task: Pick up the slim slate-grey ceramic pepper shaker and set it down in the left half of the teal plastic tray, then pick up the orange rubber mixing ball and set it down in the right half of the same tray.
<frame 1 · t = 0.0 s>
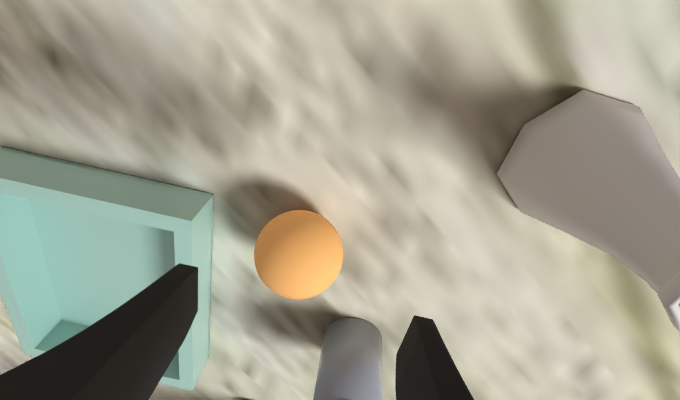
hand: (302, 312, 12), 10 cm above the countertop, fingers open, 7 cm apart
ball: (299, 253, 20), point 2 cm above the countertop
tray: (122, 268, 26), on the countertop
flask: (570, 160, 19), on the countertop
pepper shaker: (352, 337, 27), on the countertop
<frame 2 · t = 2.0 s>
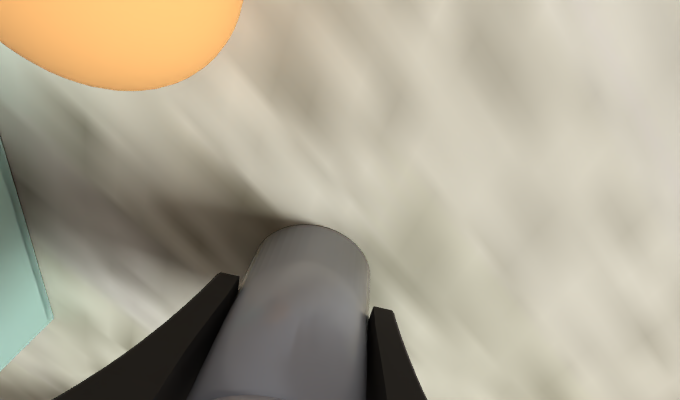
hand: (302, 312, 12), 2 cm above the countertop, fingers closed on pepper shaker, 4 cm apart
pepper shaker: (311, 273, 14), on the countertop, touching gripper
when the fingers open (3 cm above the countertop, at t = 12.0 s): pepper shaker stays where it is, resting on tray.
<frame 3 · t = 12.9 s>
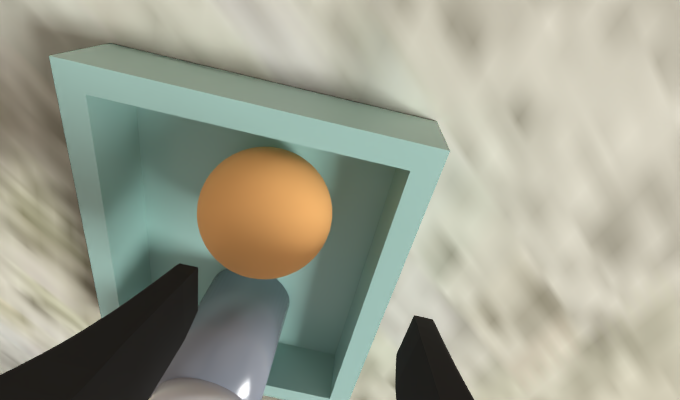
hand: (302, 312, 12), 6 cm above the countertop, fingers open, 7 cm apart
ball: (267, 212, 14), point 3 cm above the countertop, tilted 20°, touching tray
tray: (257, 241, 18), on the countertop
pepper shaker: (250, 296, 20), resting on tray
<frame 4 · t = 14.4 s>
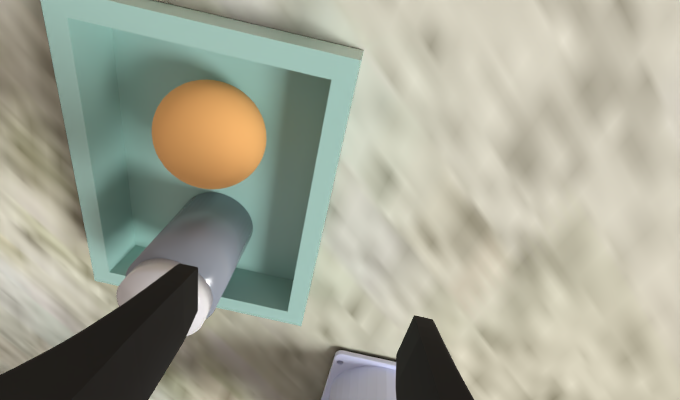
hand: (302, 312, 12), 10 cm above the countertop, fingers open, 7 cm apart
ball: (211, 135, 17), point 3 cm above the countertop, tilted 20°, touching tray
tray: (221, 169, 21), on the countertop
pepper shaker: (218, 223, 22), resting on tray
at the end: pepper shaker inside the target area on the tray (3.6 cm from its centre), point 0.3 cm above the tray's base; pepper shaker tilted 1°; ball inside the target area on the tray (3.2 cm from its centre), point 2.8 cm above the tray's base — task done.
